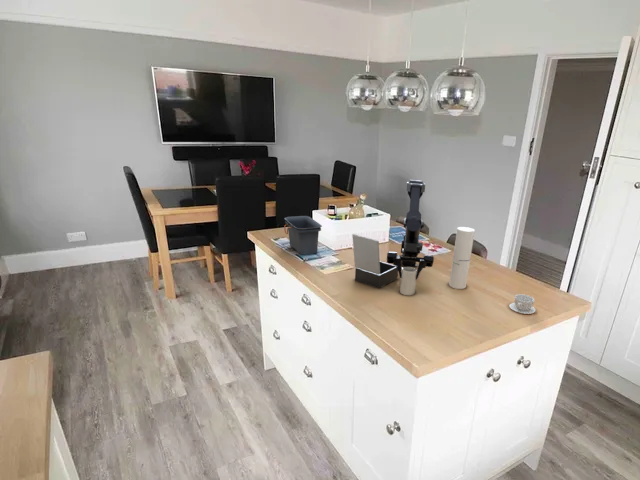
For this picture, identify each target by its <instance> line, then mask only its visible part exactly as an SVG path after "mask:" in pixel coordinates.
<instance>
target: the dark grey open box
mask: <svg viewBox="0 0 640 480" xmlns="http://www.w3.org/2000/svg"><path fill="white" fill-rule="evenodd" d="M354 268H355V269H354V271H355V272H354V274H355V275H354V281H355V282H358V283H362V284H364V285H367V286H371V287H373V288H376V289H380V288H383V287H385V286H386V285H388V284H390V283H392V282H394V281H396V280H398V278H399V277H398V275H399V272H398V269H397V267H396V266H394V265H393V264H391V263H387V262H384V261H381V260H380V275H378V274H375V273H372V272H369V271H365V270H362V269H359V268H356V267H354Z"/></svg>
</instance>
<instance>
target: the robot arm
mask: <svg viewBox="0 0 640 480" xmlns="http://www.w3.org/2000/svg"><path fill="white" fill-rule="evenodd" d="M405 191H406V192H407V196H408V198H409V208H408V209H409V210H408V211H407V212H406V217H405V218H404V220H403V228H404V229H405V233H404V236H403V239H401V245H400V246H401V247H400V253H401V255H400V254H398V252H397V251H388V252H386V253H387V254H386V263H388V264H391V265H394V266H396V267H397V269H398V275H399V278H400V279H401V274H402V266H403V267H417V274H416V281H418V278H419V276H420V274H421V272H422V270H423V269H426V268H432V267H433V265H434V260H435V257H434V255H433V254H424V255H423V257H420V256H418V255H419V254H420V253H421V252H422V251H423V242H421V241H420V235H421V234H420V233H421V230H422V229H423V228H424V227H425V223H424V221H423V219H422V213H421V212H420V201H421V198H422V196H423V194H424V193H426V183H424V181H423V180H419V179H418V180H417V179H409V181H407V182H406V189H405ZM417 263H418V264H417Z"/></svg>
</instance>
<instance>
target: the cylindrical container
mask: <svg viewBox="0 0 640 480" xmlns="http://www.w3.org/2000/svg"><path fill="white" fill-rule="evenodd" d="M475 232H476V229H475V228H472V227H467V226H457V228H456V234H455V242H454V247H453V248H454V249H453V255H452V263H451V269H450V277H449V284H448V285H449V287H450V288H453V289H457V290H463V289H466V287H467V281H468V275H469V269H470V264H471V256H472V251H473V244H474V237H475Z"/></svg>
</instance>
